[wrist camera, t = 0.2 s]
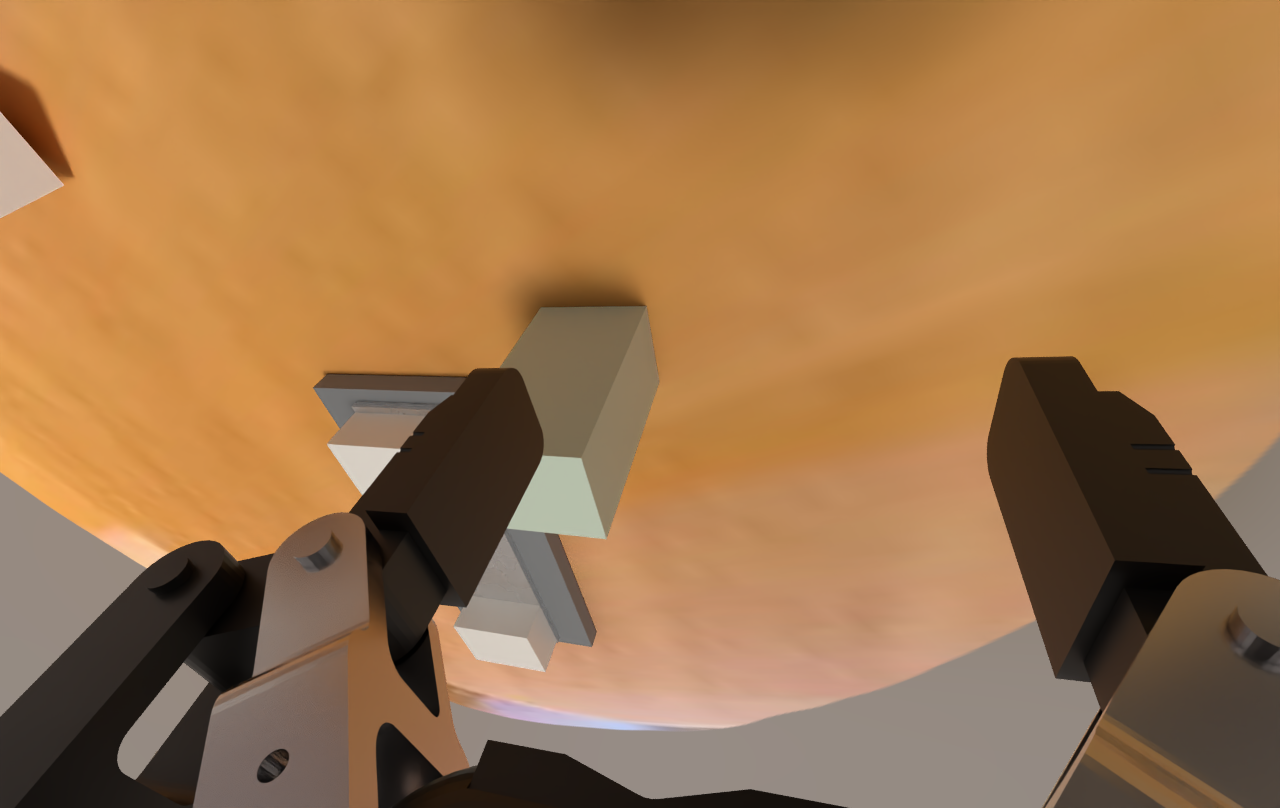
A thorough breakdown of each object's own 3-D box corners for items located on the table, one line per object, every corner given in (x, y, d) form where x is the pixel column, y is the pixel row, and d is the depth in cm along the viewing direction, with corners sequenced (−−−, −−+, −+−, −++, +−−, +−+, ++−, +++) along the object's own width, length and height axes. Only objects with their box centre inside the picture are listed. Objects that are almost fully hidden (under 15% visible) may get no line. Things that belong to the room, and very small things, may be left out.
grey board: (327, 374, 39) (313, 387, 38) (495, 378, 36) (485, 393, 35) (477, 613, 59) (471, 627, 58) (596, 632, 55) (592, 647, 54)
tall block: (537, 307, 31) (439, 448, 23) (646, 305, 30) (581, 458, 22) (559, 379, 35) (480, 525, 27) (659, 381, 33) (606, 539, 25)
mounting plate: (356, 400, 38) (351, 406, 38) (448, 404, 36) (444, 410, 36) (494, 626, 56) (491, 632, 56) (560, 636, 54) (558, 642, 54)
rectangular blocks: (351, 412, 38) (322, 443, 36) (446, 416, 36) (422, 450, 34) (487, 629, 56) (473, 659, 53) (556, 640, 54) (545, 671, 51)
